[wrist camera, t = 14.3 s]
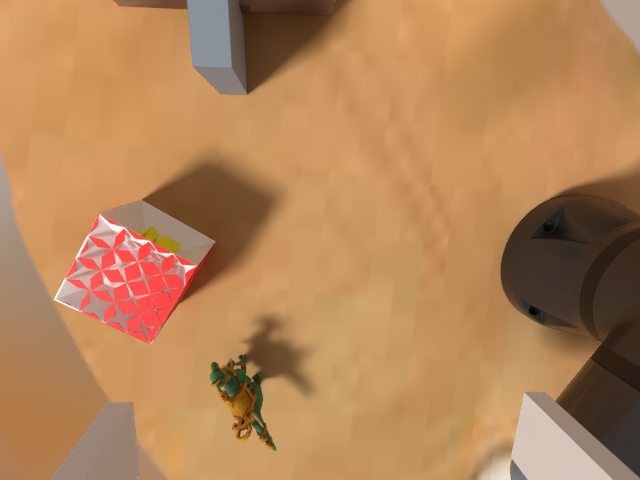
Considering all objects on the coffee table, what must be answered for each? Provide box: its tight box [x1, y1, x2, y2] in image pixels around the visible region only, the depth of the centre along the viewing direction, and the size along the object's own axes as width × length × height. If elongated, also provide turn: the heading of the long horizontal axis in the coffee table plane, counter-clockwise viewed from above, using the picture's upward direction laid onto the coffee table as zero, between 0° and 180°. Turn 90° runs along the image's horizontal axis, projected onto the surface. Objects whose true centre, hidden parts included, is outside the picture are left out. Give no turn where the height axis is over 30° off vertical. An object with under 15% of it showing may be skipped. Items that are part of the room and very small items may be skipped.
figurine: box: [210, 355, 276, 451], centre depth 34 cm, size 3×12×8 cm, turn 28°
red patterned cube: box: [54, 200, 216, 344], centre depth 30 cm, size 8×8×8 cm
